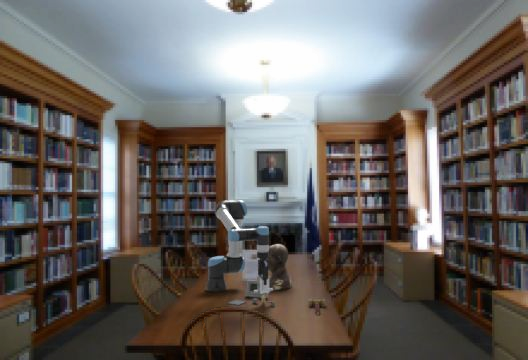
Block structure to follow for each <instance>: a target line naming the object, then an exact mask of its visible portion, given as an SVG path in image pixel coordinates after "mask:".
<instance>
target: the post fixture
mask: <svg viewBox="0 0 528 360" xmlns="http://www.w3.org/2000/svg"><path fill="white" fill-rule="evenodd" d="M260 299H261V302H260V303H261V305H262V306H265V305H266V298H265V293H262V294H261V298H254V297H253V298H252V304H256V303H257V301H259V300H260ZM267 303H268V304H271V307H275V300H274V301H273V300H268V301H267Z"/></svg>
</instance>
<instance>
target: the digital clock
mask: <svg viewBox="0 0 528 360" xmlns="http://www.w3.org/2000/svg"><path fill="white" fill-rule="evenodd" d="M254 290H257V279H247V281H246V289H245V297H249V298H254V297H255V298H256V299H261V294H260V293H254ZM269 295H270V294H269V293H265V299H268V298H269Z"/></svg>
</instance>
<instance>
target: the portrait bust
mask: <svg viewBox="0 0 528 360" xmlns="http://www.w3.org/2000/svg"><path fill="white" fill-rule="evenodd" d="M269 246H270V247H269V251H268V252H269V258H266V261H267V263H268V271H269V272H270V274H271V275H270V276H269V288H273V291H282V290H283V289H284V290H287V289H288V290H289V289H290V288H291V287H292V279H291V278H292V277H291V274H290V273H289V270H288V267H286V264H287V262H288V259H289V258H288V257H289V251H288V248H287V247H286V246H285V245H283V244H281V243H276V244H272V245H269Z"/></svg>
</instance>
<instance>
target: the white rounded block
mask: <svg viewBox="0 0 528 360" xmlns="http://www.w3.org/2000/svg"><path fill="white" fill-rule="evenodd" d="M262 279H263V274H261V275H258V274H257V275H256V280H257V290H254V293H260V294H262V293H270V292H273V291H274V290H273V288H269V279H270V276H269V275H268V279H267V290H262Z"/></svg>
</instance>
